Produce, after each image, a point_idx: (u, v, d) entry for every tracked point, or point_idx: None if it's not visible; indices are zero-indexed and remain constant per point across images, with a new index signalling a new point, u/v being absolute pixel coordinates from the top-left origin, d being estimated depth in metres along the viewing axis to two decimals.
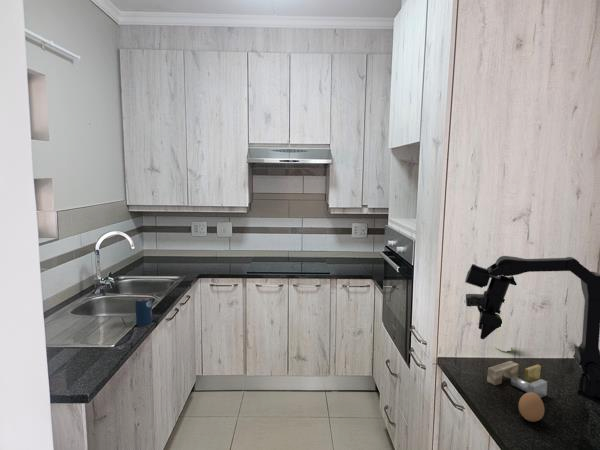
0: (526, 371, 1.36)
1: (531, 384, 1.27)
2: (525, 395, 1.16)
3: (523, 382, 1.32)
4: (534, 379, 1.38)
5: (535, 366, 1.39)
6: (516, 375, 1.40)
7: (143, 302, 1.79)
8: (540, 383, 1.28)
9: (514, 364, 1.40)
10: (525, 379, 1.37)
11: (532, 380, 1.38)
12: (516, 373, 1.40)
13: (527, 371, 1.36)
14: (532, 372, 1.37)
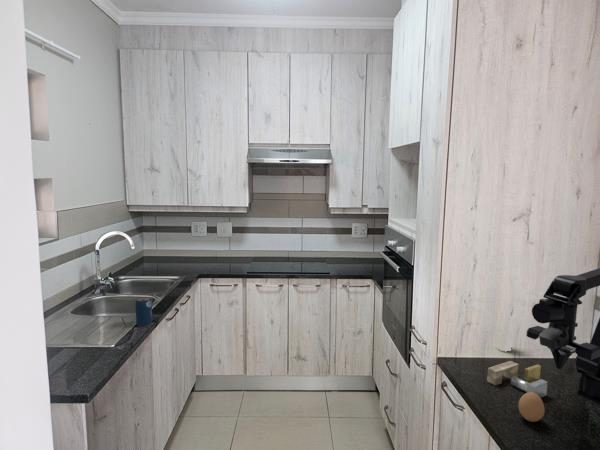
0: (526, 371, 1.36)
1: (531, 384, 1.27)
2: (525, 395, 1.16)
3: (523, 382, 1.32)
4: (534, 379, 1.38)
5: (535, 366, 1.39)
6: (516, 375, 1.40)
7: (143, 302, 1.79)
8: (540, 383, 1.28)
9: (514, 364, 1.40)
10: (525, 379, 1.37)
11: (532, 380, 1.38)
12: (516, 373, 1.40)
13: (527, 371, 1.36)
14: (532, 372, 1.37)
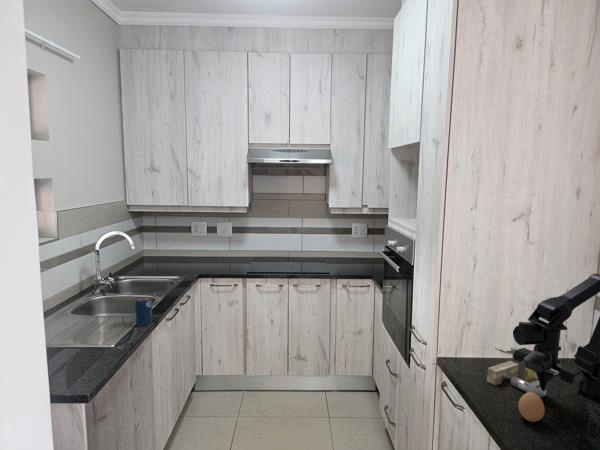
0: (526, 371, 1.36)
1: (531, 384, 1.27)
2: (525, 395, 1.16)
3: (523, 382, 1.32)
4: (534, 379, 1.38)
5: None
6: (516, 375, 1.40)
7: (143, 302, 1.79)
8: None
9: (514, 364, 1.40)
10: (525, 379, 1.37)
11: (532, 380, 1.38)
12: (516, 373, 1.40)
13: (527, 371, 1.36)
14: (532, 372, 1.37)
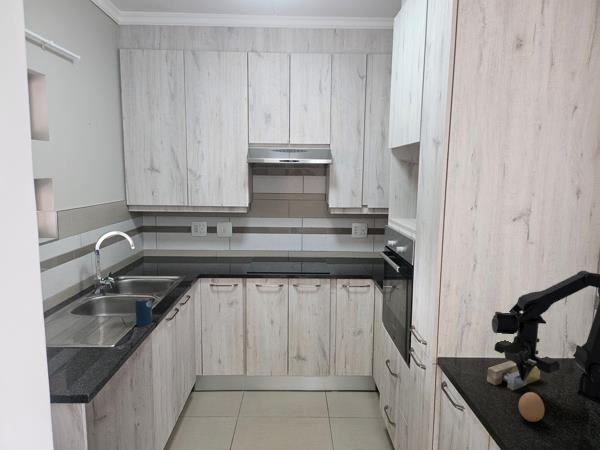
0: None
1: (511, 375, 1.33)
2: (525, 395, 1.16)
3: (504, 373, 1.38)
4: (534, 379, 1.38)
5: (535, 366, 1.39)
6: None
7: (143, 302, 1.79)
8: None
9: (514, 364, 1.40)
10: None
11: (532, 380, 1.38)
12: None
13: None
14: (532, 372, 1.37)
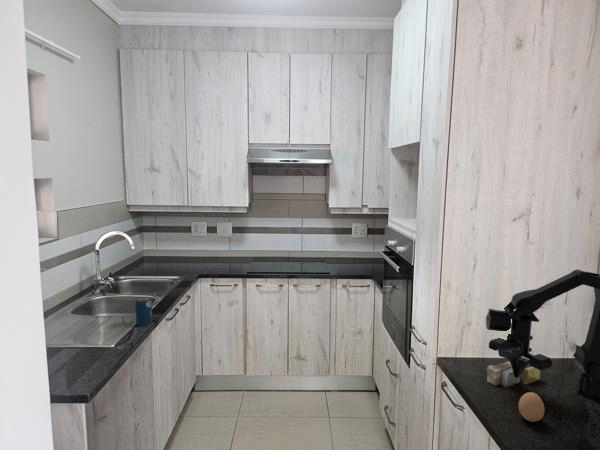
0: (526, 371, 1.36)
1: (505, 372, 1.35)
2: (525, 395, 1.16)
3: None
4: (534, 379, 1.38)
5: None
6: None
7: (143, 302, 1.79)
8: None
9: None
10: (525, 379, 1.37)
11: (532, 380, 1.38)
12: None
13: (527, 371, 1.36)
14: (532, 372, 1.37)
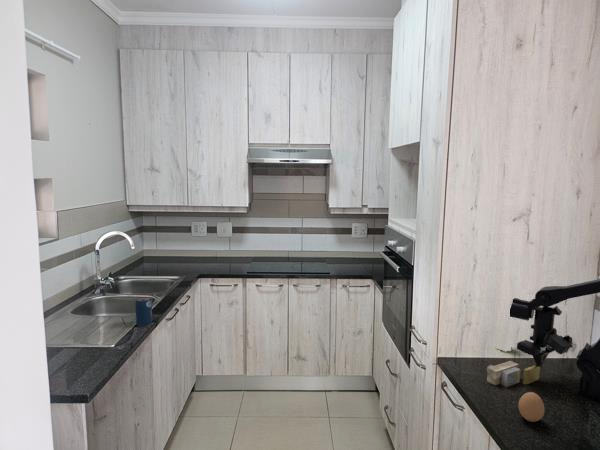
0: (525, 371, 1.36)
1: (505, 372, 1.35)
2: (525, 395, 1.16)
3: None
4: (533, 379, 1.38)
5: (534, 366, 1.38)
6: None
7: (143, 302, 1.79)
8: (513, 370, 1.36)
9: (514, 364, 1.40)
10: (524, 379, 1.36)
11: (531, 380, 1.37)
12: None
13: (526, 371, 1.36)
14: (531, 372, 1.37)
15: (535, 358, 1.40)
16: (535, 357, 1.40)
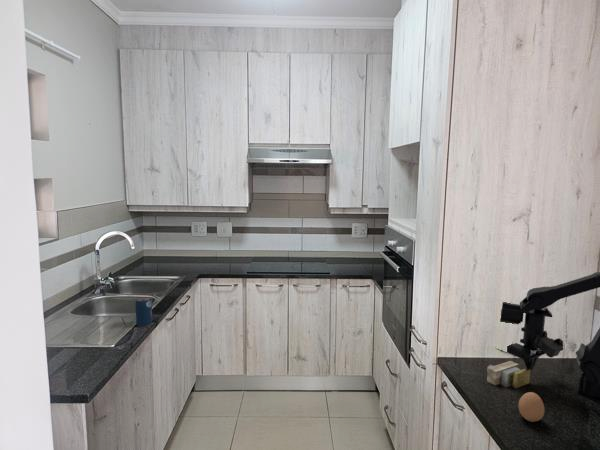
0: (515, 374, 1.34)
1: (505, 372, 1.35)
2: (525, 395, 1.16)
3: None
4: (523, 383, 1.35)
5: (525, 369, 1.36)
6: None
7: (143, 302, 1.79)
8: (513, 370, 1.36)
9: (514, 364, 1.40)
10: (514, 383, 1.34)
11: (521, 384, 1.35)
12: None
13: (516, 375, 1.33)
14: (521, 376, 1.34)
15: (525, 361, 1.37)
16: (525, 360, 1.37)
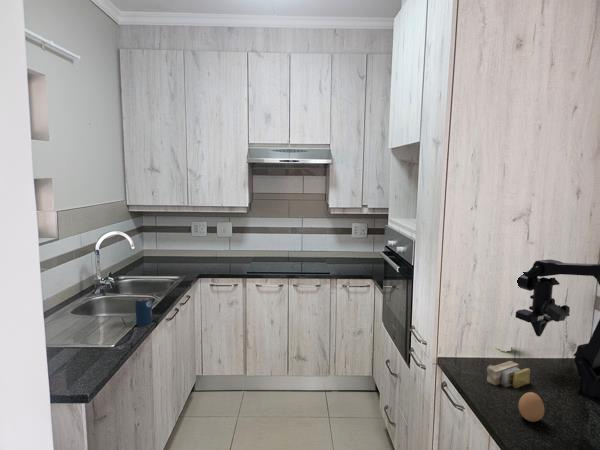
0: (515, 374, 1.34)
1: (505, 372, 1.35)
2: (525, 395, 1.16)
3: None
4: (523, 383, 1.35)
5: (525, 369, 1.36)
6: None
7: (143, 302, 1.79)
8: (513, 370, 1.36)
9: (514, 364, 1.40)
10: (514, 383, 1.34)
11: (521, 384, 1.35)
12: None
13: (516, 375, 1.33)
14: (521, 376, 1.34)
15: (534, 327, 1.47)
16: (534, 326, 1.47)
